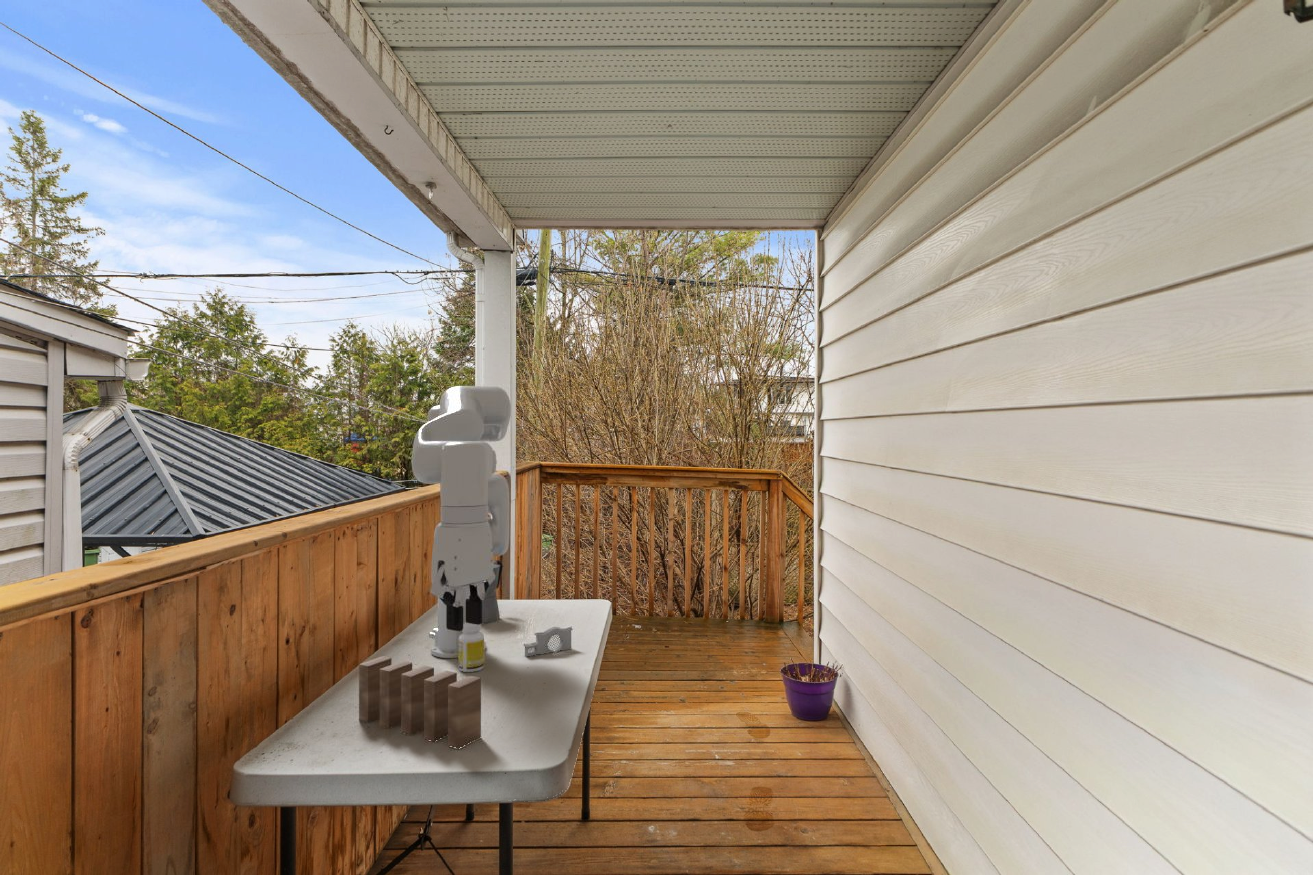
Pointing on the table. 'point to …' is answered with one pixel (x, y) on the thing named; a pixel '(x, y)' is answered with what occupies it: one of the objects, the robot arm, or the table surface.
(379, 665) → the domino
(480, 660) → the supplement bottle
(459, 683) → the domino
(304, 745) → the table surface
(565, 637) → the garden wall model
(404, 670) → the domino
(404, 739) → the table surface
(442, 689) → the domino
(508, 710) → the table surface
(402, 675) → the domino
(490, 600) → the coffeepot
